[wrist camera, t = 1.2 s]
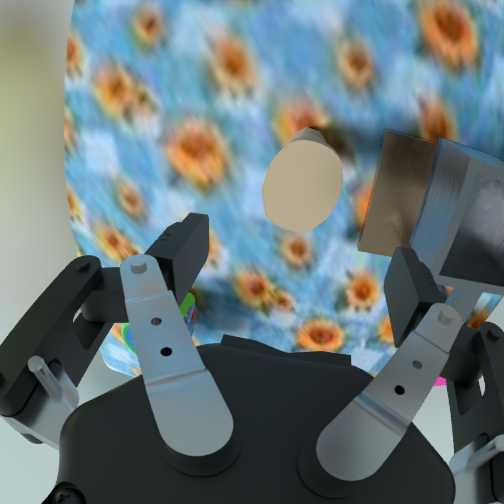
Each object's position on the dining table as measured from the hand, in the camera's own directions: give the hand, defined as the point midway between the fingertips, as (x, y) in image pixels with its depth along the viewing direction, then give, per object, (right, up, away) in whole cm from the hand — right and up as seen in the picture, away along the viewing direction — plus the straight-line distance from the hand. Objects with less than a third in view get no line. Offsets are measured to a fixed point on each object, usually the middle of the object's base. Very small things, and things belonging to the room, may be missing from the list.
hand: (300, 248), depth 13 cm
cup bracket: (+19, +6, +19) cm, 27 cm away
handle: (+4, +12, +19) cm, 23 cm away
